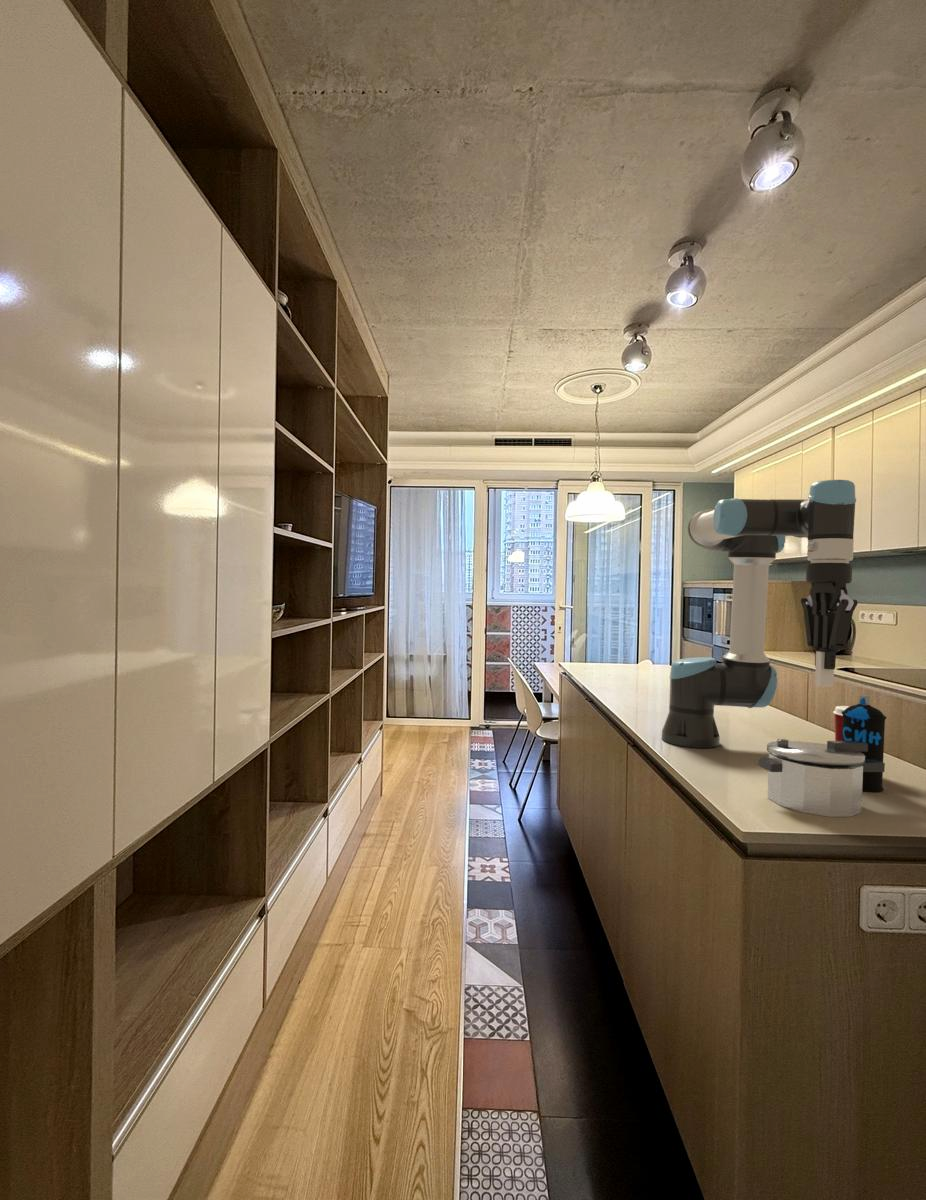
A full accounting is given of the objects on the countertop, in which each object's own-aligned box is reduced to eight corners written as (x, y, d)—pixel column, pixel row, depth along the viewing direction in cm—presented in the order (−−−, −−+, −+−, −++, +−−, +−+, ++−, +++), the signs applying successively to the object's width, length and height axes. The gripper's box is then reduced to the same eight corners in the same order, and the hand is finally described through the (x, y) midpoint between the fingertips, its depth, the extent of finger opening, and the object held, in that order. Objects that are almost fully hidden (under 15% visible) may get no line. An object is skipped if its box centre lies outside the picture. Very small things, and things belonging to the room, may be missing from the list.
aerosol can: (844, 778, 139) (847, 690, 138) (887, 787, 133) (891, 696, 133) (834, 785, 133) (837, 694, 133) (878, 795, 127) (882, 700, 127)
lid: (748, 744, 130) (749, 732, 130) (833, 745, 131) (833, 733, 131) (800, 764, 112) (800, 750, 112) (897, 765, 114) (897, 751, 114)
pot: (738, 786, 130) (739, 744, 130) (844, 786, 132) (846, 745, 132) (788, 816, 113) (789, 768, 113) (910, 816, 115) (912, 769, 115)
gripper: (789, 563, 122) (784, 680, 122) (834, 560, 109) (828, 691, 109) (825, 564, 123) (820, 680, 123) (873, 561, 110) (867, 691, 110)
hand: (824, 685), depth 116 cm, fingers closed
